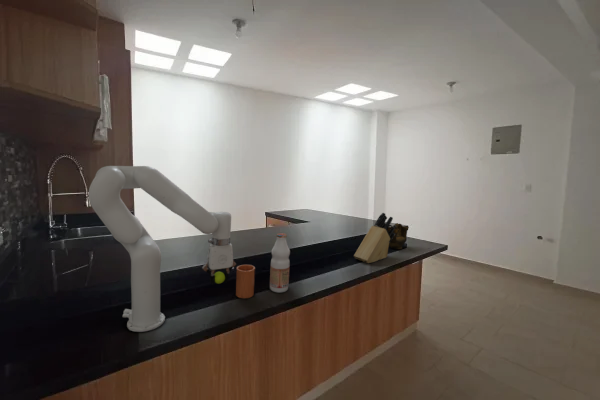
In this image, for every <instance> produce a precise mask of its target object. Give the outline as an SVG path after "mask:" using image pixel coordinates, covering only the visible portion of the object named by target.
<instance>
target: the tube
mask: <svg viewBox="0 0 600 400" xmlns="http://www.w3.org/2000/svg"><path fill="white" fill-rule="evenodd" d="M235 270H236V274H235V296H236V297H237V298H239V299H249V298H252V297H253V296H254V295H255V281H256V280H255V278H256V267H255V266H254V265H252V264H241V265H237V266H236V269H235Z"/></svg>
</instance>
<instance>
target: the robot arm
mask: <svg viewBox="0 0 600 400" xmlns="http://www.w3.org/2000/svg"><path fill="white" fill-rule="evenodd" d="M129 189H130V190H131V189H133V190H134V189H141V190H143V191H144V192H145V193H146V194H147V195H149V196H151V197H152V198H153V199H154V200H156V201H157V202H158V203H160V204H161V205H162V206H164V207H165V208H166V209H168V210H169V211H171V212H172V213H174V214H176V215H177V216H179V217H181V218H182V219H184V220H185V221H186V222H187V223H188V224H190V225H192V226H193V227H194V228H195V229H196V230H198V231H199V232H201V233H203V234H204V235H211V237H210V239H208V240H207V242H208V243H209V247H208V251H207V256H206V257H207V258H206V262H205V263H204V264H203V266H202V267H201V269H202V270H203V271H204V272H206V273H207V274H209V283H210V284H211V285H212V286H214V285H215V284H216V283H215V276H214V274H215V273H216V270H222V269H223V270H224V271H222V273H224V275H225V280H224V281H223V283H228V280H229V274H230V272H231V271H232V270H233V268H235V267H236V266H237V263H236V262H235V260H234V252H233V251H234V250H233V244H232V243H231V233H232V232H231V231H232V230H231V229H232V214H231V213H230V212H228V211H213V212H212V211H208V210H207V209H206V208H205V207H203V206H202V205H201V204H199V203H198V202H197V201H196V200H194V199H193V198H192V197H191V196H190V195H189V194H187V193H186V192H185V191H184V190H183V189H182V188H181V187H179V186H177V184H176V183H174V182H173V181H171V180H170V179H169V178H168V177H166V176H165V175H164V174H163V173H162V172H160V171H159V170H158V169H156V168H155V167H152V166H149V165H106V166H102V167H101V168H99V169H98V170H97V171H96V173H95V175H94V178H93V179H92V181H91V183H90V185H89V187H88V201H89V204H90V207H91V208H92V209H93V211H94V212H95V214H96V215H97V216H98V218H99V219H100V221H101V222H102V223H103V225H104V226H105V227H106V228H107V230H108V231H109V232H110V234H111V236H112V237H113V238H114V239H115V240H116V241H117V242H118V243H120V244H121V245H122V246H123V247H124V249H125V250H126V251H127V252H128V254H129V257H130V288H131V289H130V291H131V292H130V293H131V309H129V308H124V310H123V314H122V318H125V319H126V318H128V320H127V323H126V327H127V329H128V330H129V331H132V332H134V333H135V332H136V333H142V332H143V333H144V332H148V331H153V330H155V329H158V328H159V327H160V326H162V325H163V324H164V323H165V320H166V316H165V314H164V313H162V312H161V267H162V252H161V249H160V246H159V245H158V244H157V242H156V241H155V239H154V238H153V237H152V236H151V235H150V233H149V232H148V230H147V228H145V227H144V225H143V224H142V223H141V221H140V220H139V218H138V217H136V215H134V214H132V212H131V211H130V209H129V208H128V207H127V205H126V204H125V202H124V201H123V199H122V198H121V192H122V190H129Z"/></svg>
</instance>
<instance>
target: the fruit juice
mask: <svg viewBox="0 0 600 400" xmlns="http://www.w3.org/2000/svg"><path fill="white" fill-rule="evenodd" d="M287 236H288V235H287V233H283V232H280V233H277V234H276V240H275V243H274V245H273V247H272V249H271V260H270V269H269V270H270V271H269V274H270V275H269V290H270V291H272V292H274V293H285V292H287V291H288V290H289V285H290V284H289V283H290V282H289V281H290V265H291V262H290V255H291V250H290V249H291V248H289V244H288V242H287Z"/></svg>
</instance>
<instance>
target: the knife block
mask: <svg viewBox="0 0 600 400" xmlns="http://www.w3.org/2000/svg"><path fill="white" fill-rule="evenodd" d="M392 221H393V217H392V216H389V218H388V217H387V215H386V213H385V212H381V214H380V215H379V216H378V217H377V219H376V221H375V223H374V225H371V226H370V228H369V229H368V231H367V233H366V234H365V236H364V237H363V240H362V241H361V243H360V245H359V246H358V248H357V249H356V251H355V253H354V254H353V257H354V259H355V260H357V261H361V262H363V263H367V264H372V263H374V262H377V261H381V260H382V259H386V258H388V254H389V247H390V246H389V243H390V242H391V240H392V239H393V237H394V236H395V233H393V231H394V229H395V227H396V226H395V224H394V225H391V223H392ZM392 226H393V227H392ZM389 227H391V229H390V231H387V230H388V228H389Z"/></svg>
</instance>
